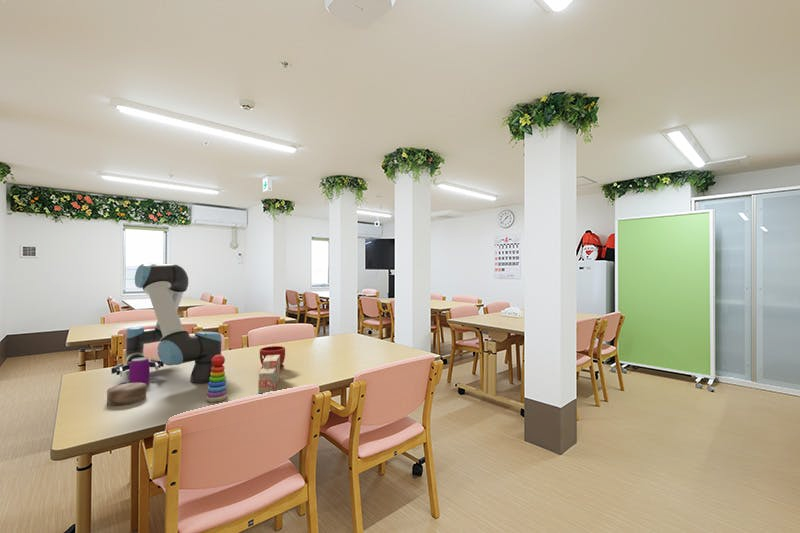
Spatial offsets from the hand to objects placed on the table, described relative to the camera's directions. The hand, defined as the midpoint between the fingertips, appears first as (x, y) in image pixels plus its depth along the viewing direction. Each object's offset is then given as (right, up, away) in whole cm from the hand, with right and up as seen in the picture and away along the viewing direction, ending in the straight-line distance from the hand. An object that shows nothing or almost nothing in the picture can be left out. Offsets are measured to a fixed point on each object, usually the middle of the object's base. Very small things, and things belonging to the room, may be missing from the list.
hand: (140, 371), depth 165 cm
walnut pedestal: (+7, -7, -16) cm, 19 cm away
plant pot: (+51, -8, +28) cm, 59 cm away
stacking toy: (+43, -8, -14) cm, 46 cm away
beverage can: (-2, -7, +2) cm, 8 cm away
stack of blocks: (+59, -8, +3) cm, 60 cm away
